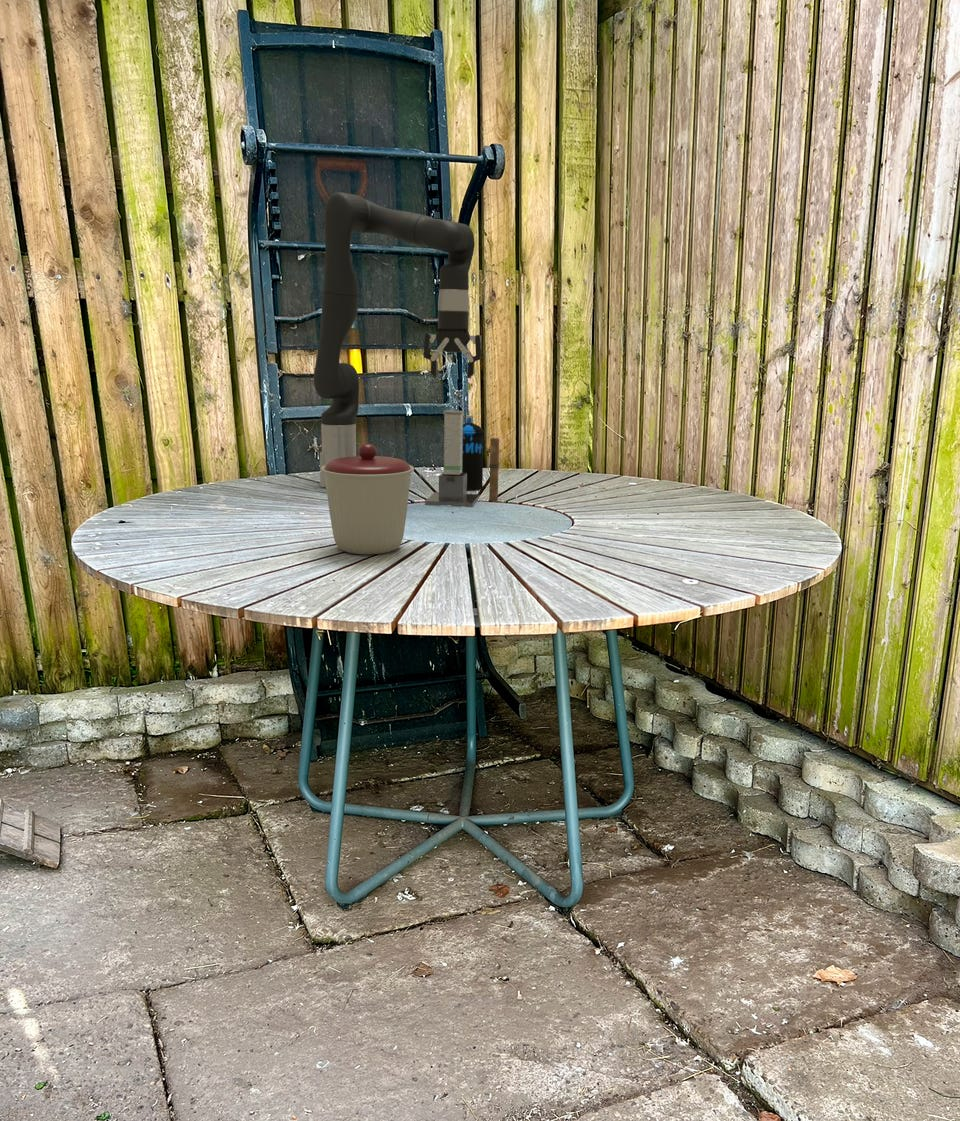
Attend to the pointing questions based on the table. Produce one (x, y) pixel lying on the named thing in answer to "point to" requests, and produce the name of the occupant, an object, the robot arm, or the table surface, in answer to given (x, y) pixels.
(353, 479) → the canister
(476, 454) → the aerosol can
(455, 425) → the grey-green long block
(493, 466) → the banded wooden rod
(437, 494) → the stand base
